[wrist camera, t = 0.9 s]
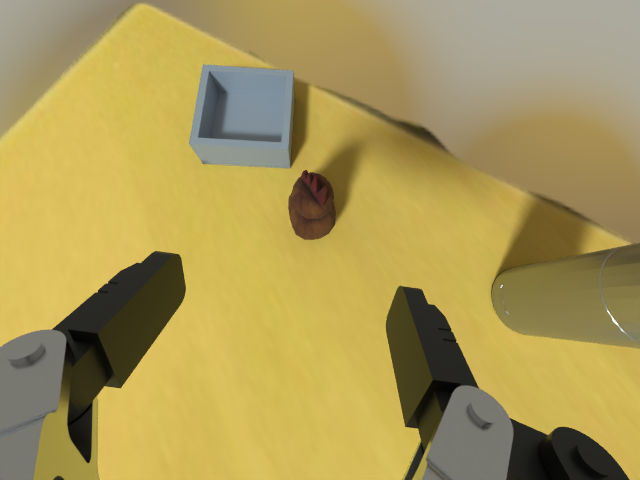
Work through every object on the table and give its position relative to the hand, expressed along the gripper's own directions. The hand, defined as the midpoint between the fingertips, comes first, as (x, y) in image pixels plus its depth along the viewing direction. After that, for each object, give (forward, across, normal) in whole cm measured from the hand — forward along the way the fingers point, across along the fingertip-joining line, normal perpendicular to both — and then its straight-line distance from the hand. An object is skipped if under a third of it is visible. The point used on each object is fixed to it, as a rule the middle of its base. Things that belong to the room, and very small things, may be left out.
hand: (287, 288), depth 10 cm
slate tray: (+37, +12, +1) cm, 38 cm away
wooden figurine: (+27, 0, +11) cm, 29 cm away
